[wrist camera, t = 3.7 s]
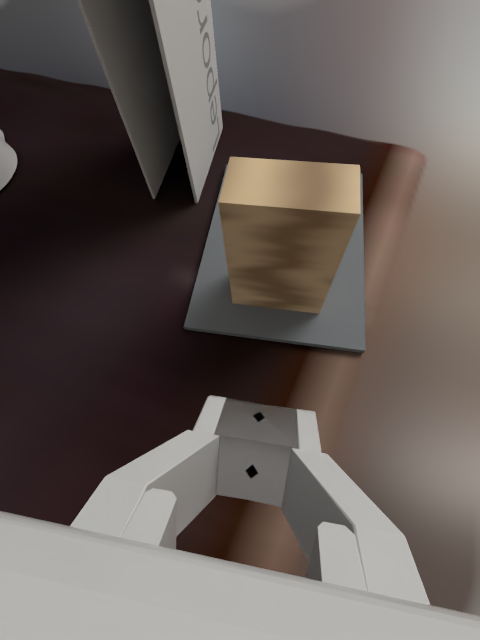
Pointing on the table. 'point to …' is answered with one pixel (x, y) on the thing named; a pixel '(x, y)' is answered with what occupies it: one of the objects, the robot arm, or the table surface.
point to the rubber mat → (278, 324)
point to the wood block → (286, 229)
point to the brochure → (161, 80)
